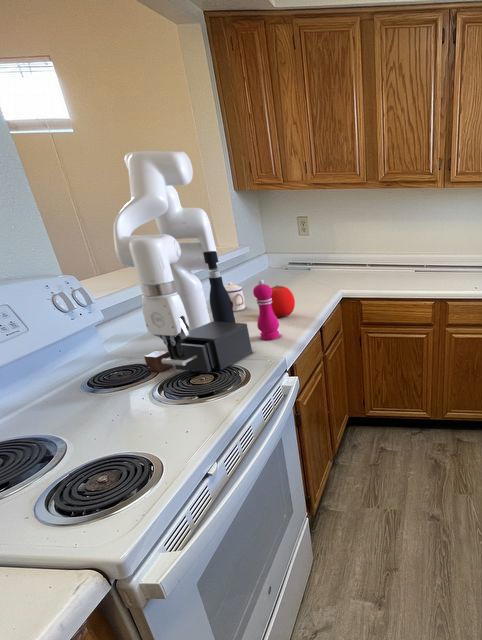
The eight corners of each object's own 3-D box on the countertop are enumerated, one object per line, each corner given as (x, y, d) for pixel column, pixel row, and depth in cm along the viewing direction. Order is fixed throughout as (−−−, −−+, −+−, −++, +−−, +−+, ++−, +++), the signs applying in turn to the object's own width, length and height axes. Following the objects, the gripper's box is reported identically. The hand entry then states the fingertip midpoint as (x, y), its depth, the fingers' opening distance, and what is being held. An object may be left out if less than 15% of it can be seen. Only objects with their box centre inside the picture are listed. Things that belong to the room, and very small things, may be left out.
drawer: (193, 381, 110) (186, 354, 107) (159, 377, 113) (151, 350, 110) (239, 355, 127) (234, 331, 124) (209, 352, 130) (203, 329, 127)
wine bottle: (220, 348, 136) (198, 254, 124) (218, 342, 142) (197, 251, 129) (240, 344, 139) (221, 252, 127) (238, 339, 144) (219, 249, 132)
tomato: (295, 311, 176) (291, 281, 171) (297, 318, 166) (293, 286, 161) (265, 314, 173) (259, 284, 167) (265, 322, 162) (260, 290, 157)
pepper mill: (274, 340, 141) (265, 282, 133) (255, 340, 143) (244, 281, 135) (284, 334, 148) (275, 277, 140) (266, 333, 149) (256, 277, 141)
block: (148, 370, 121) (143, 356, 119) (160, 364, 125) (156, 350, 123) (160, 371, 119) (156, 357, 118) (172, 366, 123) (168, 351, 122)
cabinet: (221, 370, 119) (213, 338, 115) (185, 366, 122) (177, 335, 119) (252, 352, 132) (246, 323, 128) (219, 349, 135) (213, 321, 131)
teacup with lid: (219, 310, 181) (213, 283, 176) (237, 305, 188) (232, 279, 183) (237, 313, 175) (231, 286, 171) (254, 308, 182) (249, 281, 177)
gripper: (123, 291, 103) (144, 360, 110) (170, 293, 99) (189, 365, 106) (148, 285, 110) (166, 351, 117) (194, 287, 105) (210, 355, 113)
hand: (177, 357), depth 111 cm, fingers closed
